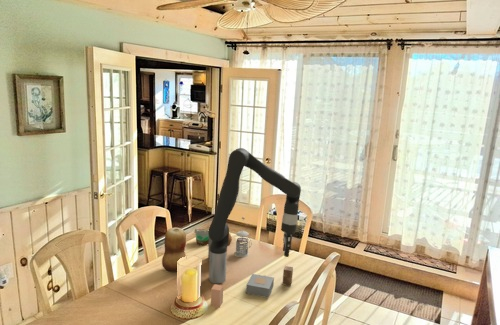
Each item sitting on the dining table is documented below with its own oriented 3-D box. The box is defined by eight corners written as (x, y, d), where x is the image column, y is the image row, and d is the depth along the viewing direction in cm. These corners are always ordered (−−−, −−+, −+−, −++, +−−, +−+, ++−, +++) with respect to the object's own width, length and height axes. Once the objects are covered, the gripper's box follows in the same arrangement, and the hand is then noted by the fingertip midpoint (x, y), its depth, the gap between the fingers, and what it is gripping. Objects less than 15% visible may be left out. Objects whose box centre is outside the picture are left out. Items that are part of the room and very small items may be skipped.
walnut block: (282, 284, 194) (283, 269, 192) (283, 280, 198) (284, 265, 197) (290, 286, 193) (291, 270, 191) (291, 282, 197) (293, 267, 196)
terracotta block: (210, 305, 172) (211, 288, 170) (214, 300, 176) (214, 284, 174) (219, 307, 171) (220, 290, 169) (222, 302, 175) (223, 285, 173)
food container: (191, 245, 239) (191, 231, 237) (194, 241, 245) (194, 227, 243) (209, 247, 237) (209, 232, 235) (211, 243, 243) (212, 229, 241)
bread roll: (222, 247, 238) (223, 236, 237) (211, 239, 250) (212, 228, 248) (234, 244, 244) (235, 233, 242) (223, 236, 256) (223, 226, 254)
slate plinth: (246, 293, 184) (246, 284, 183) (252, 282, 195) (252, 273, 194) (268, 297, 181) (269, 288, 180) (273, 286, 192) (273, 277, 191)
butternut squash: (178, 278, 196) (178, 235, 191) (157, 273, 200) (157, 231, 195) (190, 267, 208) (191, 227, 204) (171, 262, 213) (171, 223, 208)
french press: (240, 249, 236) (241, 213, 231) (254, 254, 229) (256, 217, 225) (231, 254, 228) (232, 217, 223) (245, 259, 222) (247, 221, 217)
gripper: (281, 218, 184) (277, 248, 186) (283, 224, 170) (279, 257, 171) (295, 219, 184) (291, 250, 186) (298, 226, 170) (294, 259, 171)
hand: (285, 253), depth 178 cm, fingers open, 8 cm apart
